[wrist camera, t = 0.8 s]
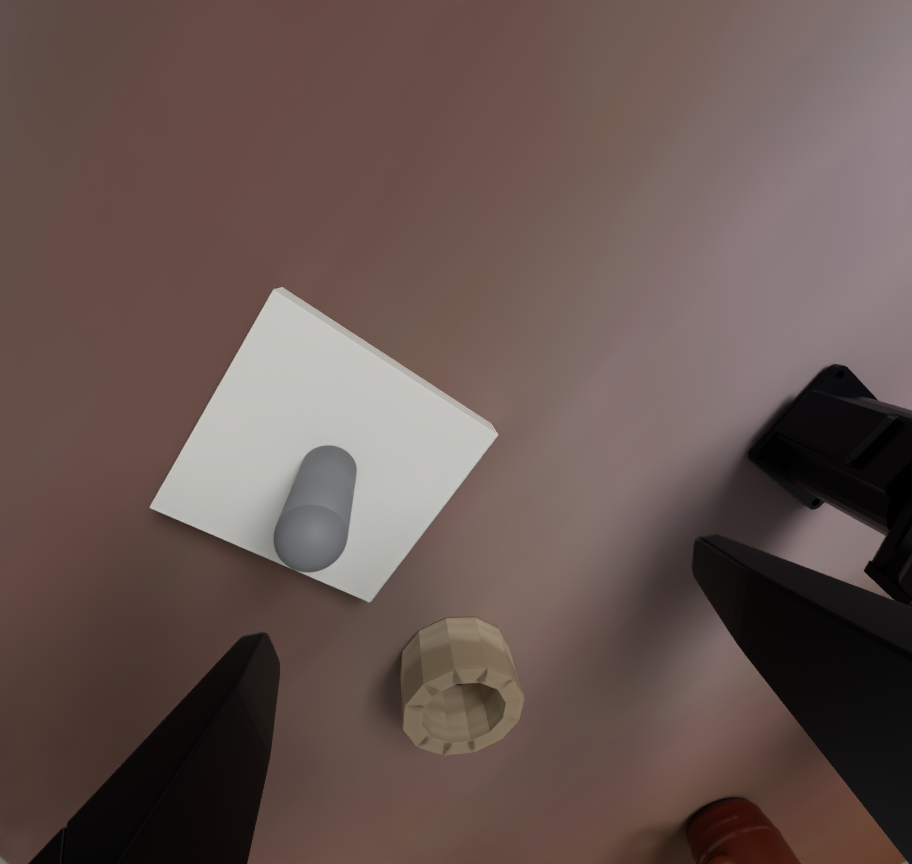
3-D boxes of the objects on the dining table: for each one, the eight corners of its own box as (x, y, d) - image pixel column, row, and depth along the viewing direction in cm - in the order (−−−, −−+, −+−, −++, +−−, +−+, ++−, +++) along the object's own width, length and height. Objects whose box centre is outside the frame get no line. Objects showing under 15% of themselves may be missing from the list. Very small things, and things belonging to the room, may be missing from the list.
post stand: (491, 423, 21) (543, 504, 14) (370, 582, 24) (364, 719, 17) (282, 287, 18) (214, 305, 11) (165, 490, 20) (47, 615, 13)
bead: (527, 641, 27) (546, 692, 24) (466, 709, 29) (476, 766, 25) (442, 601, 25) (450, 652, 22) (380, 677, 26) (379, 735, 23)
